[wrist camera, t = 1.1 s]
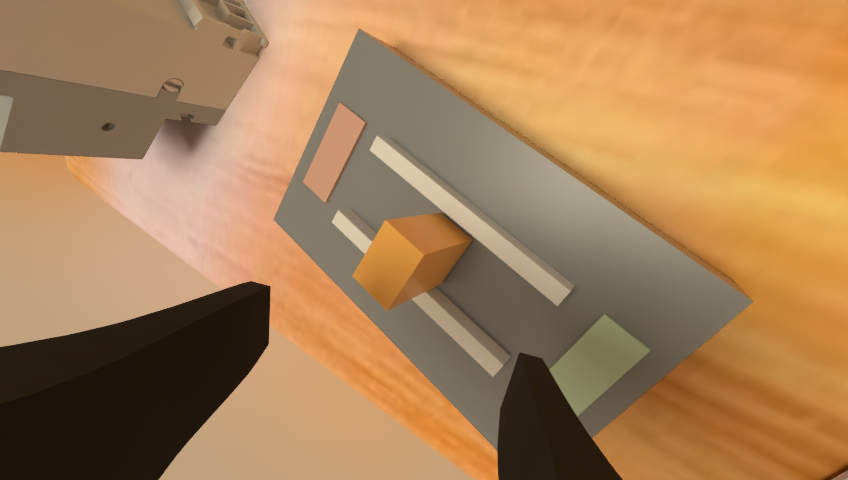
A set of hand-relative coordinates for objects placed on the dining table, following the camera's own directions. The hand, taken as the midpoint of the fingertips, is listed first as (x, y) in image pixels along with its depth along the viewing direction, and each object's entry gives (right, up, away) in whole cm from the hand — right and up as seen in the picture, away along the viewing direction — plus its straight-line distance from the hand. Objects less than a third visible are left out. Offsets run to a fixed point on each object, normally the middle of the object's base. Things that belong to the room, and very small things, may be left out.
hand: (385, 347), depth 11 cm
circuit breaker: (-16, +16, +20) cm, 30 cm away
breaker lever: (+2, +3, +7) cm, 8 cm away
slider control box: (+3, +3, +10) cm, 11 cm away
